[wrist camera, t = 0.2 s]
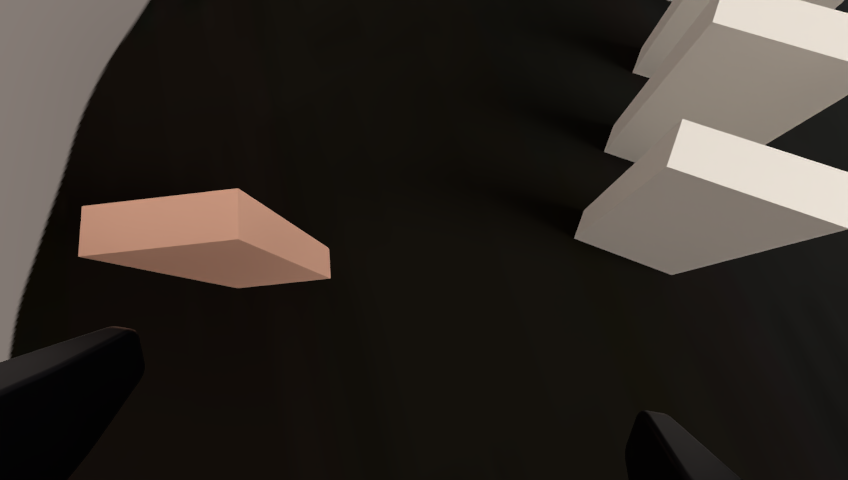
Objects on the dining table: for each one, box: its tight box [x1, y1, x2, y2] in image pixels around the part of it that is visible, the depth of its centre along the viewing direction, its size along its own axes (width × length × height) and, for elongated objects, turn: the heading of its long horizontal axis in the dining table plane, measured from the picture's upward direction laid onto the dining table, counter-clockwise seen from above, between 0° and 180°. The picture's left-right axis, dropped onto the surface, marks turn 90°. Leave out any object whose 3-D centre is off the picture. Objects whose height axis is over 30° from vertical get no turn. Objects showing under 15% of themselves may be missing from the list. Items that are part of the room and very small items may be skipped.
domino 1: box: [78, 188, 331, 288], centre depth 18 cm, size 2×5×10 cm, turn 96°
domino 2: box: [633, 0, 844, 78], centre depth 19 cm, size 2×5×10 cm, turn 68°
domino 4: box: [574, 119, 848, 275], centre depth 17 cm, size 2×5×10 cm, turn 68°
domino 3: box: [604, 0, 848, 163], centre depth 18 cm, size 2×5×10 cm, turn 68°
